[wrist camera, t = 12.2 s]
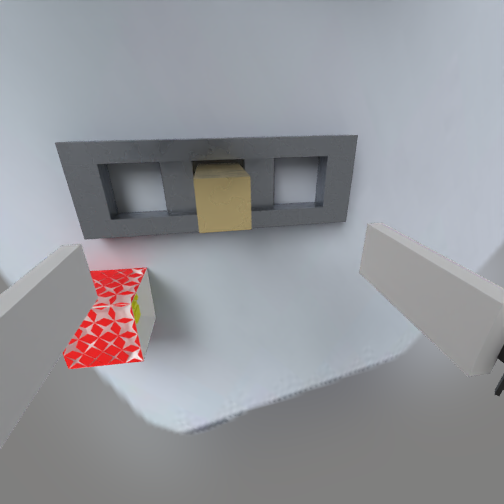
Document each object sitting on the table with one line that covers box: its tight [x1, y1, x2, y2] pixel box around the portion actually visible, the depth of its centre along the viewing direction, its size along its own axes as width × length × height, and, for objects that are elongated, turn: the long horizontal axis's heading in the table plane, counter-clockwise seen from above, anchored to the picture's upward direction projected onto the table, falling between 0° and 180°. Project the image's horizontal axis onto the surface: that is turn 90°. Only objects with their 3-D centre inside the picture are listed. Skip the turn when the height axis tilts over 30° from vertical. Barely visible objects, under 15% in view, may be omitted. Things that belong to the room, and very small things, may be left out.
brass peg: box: [193, 163, 252, 233], centre depth 26 cm, size 4×4×10 cm
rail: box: [55, 135, 358, 239], centre depth 30 cm, size 30×10×2 cm, turn 91°
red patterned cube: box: [63, 268, 156, 369], centre depth 31 cm, size 8×8×8 cm
